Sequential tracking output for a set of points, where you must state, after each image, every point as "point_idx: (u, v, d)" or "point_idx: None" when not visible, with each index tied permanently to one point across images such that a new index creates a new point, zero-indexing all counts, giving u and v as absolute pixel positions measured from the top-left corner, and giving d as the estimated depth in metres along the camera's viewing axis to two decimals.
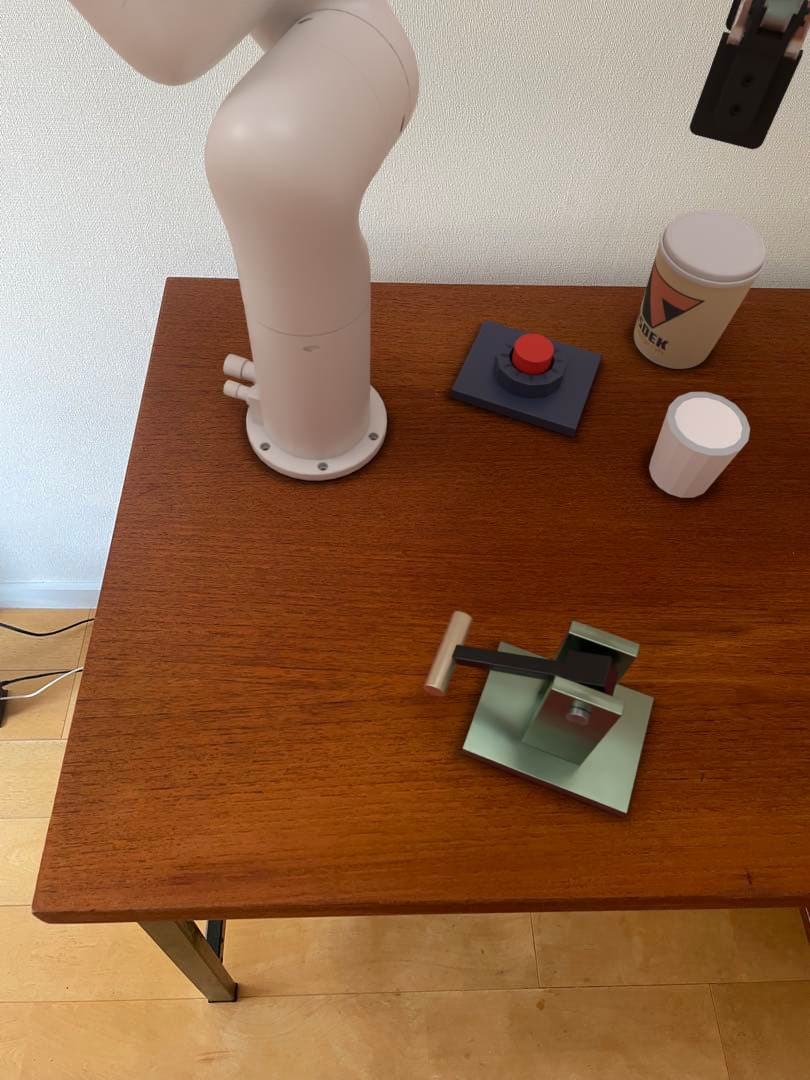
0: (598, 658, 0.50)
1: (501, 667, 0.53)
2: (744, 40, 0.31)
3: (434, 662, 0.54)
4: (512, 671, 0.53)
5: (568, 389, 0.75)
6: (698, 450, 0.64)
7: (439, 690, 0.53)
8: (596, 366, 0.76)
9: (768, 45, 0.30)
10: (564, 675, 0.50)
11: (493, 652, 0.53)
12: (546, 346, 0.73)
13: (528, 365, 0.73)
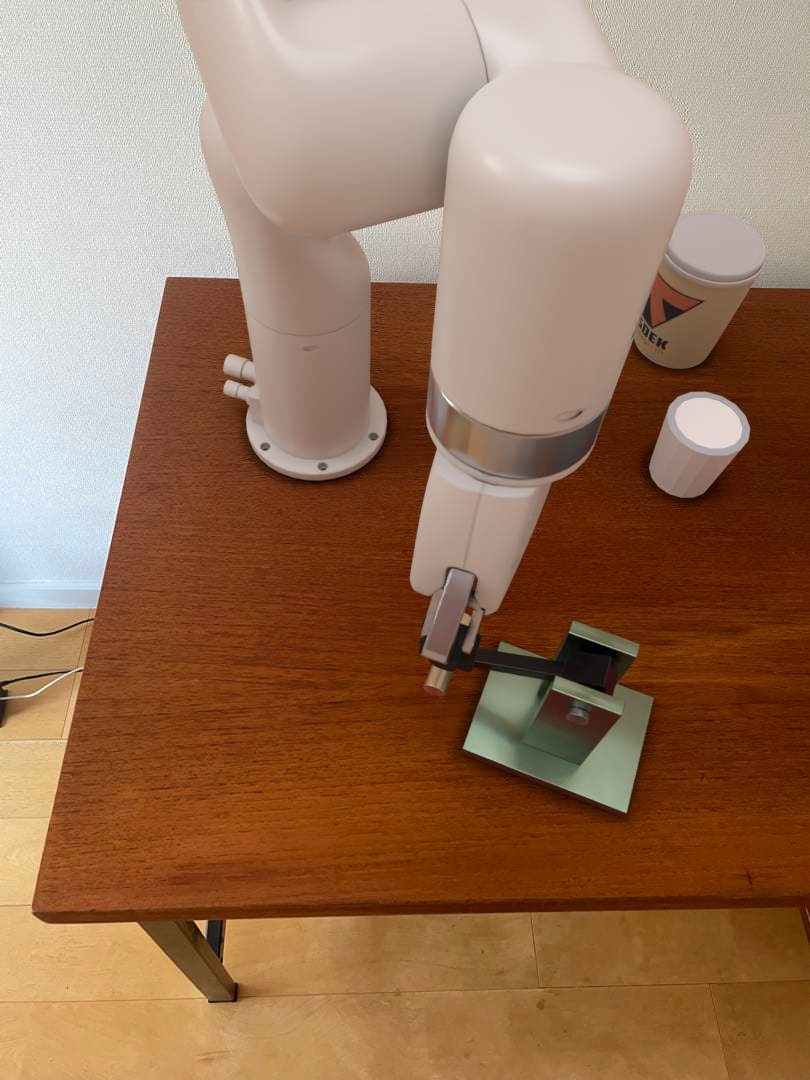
0: (598, 658, 0.50)
1: (501, 667, 0.53)
2: None
3: None
4: (512, 671, 0.53)
5: None
6: (698, 450, 0.64)
7: (439, 690, 0.53)
8: None
9: None
10: (564, 675, 0.50)
11: (493, 652, 0.53)
12: None
13: None
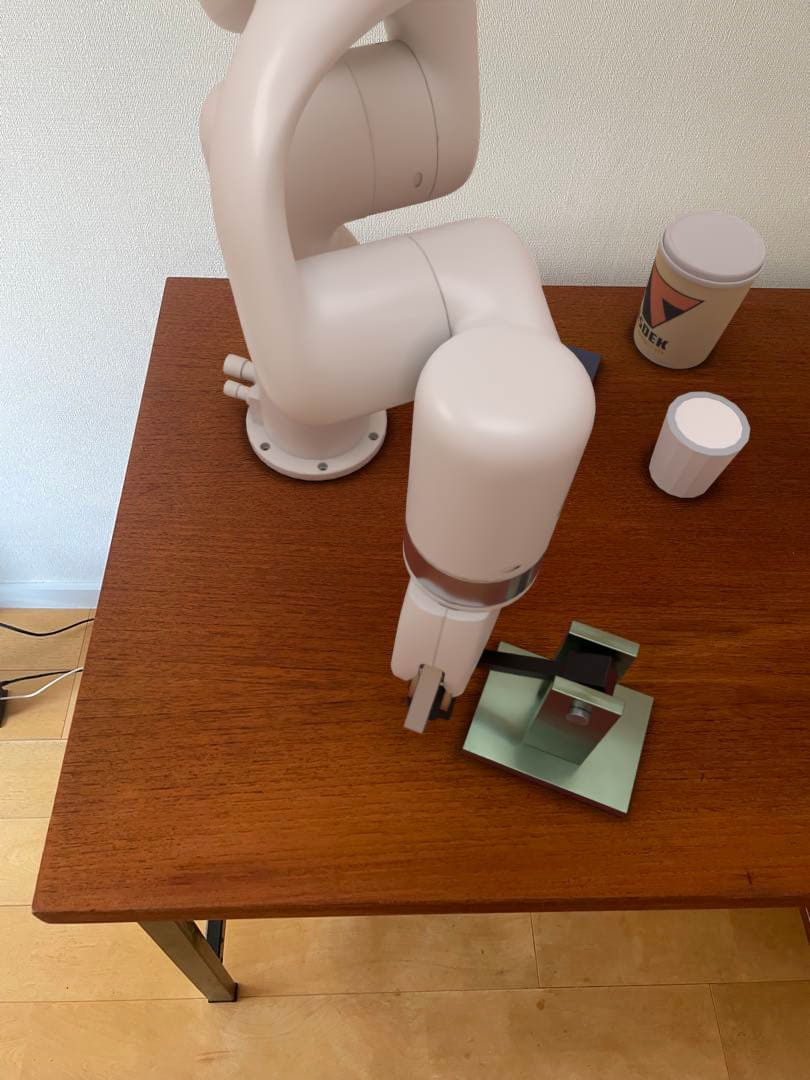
0: (598, 658, 0.50)
1: (501, 667, 0.53)
2: None
3: None
4: (512, 671, 0.53)
5: None
6: (698, 450, 0.64)
7: None
8: (596, 366, 0.76)
9: None
10: (564, 675, 0.50)
11: (493, 652, 0.53)
12: None
13: None
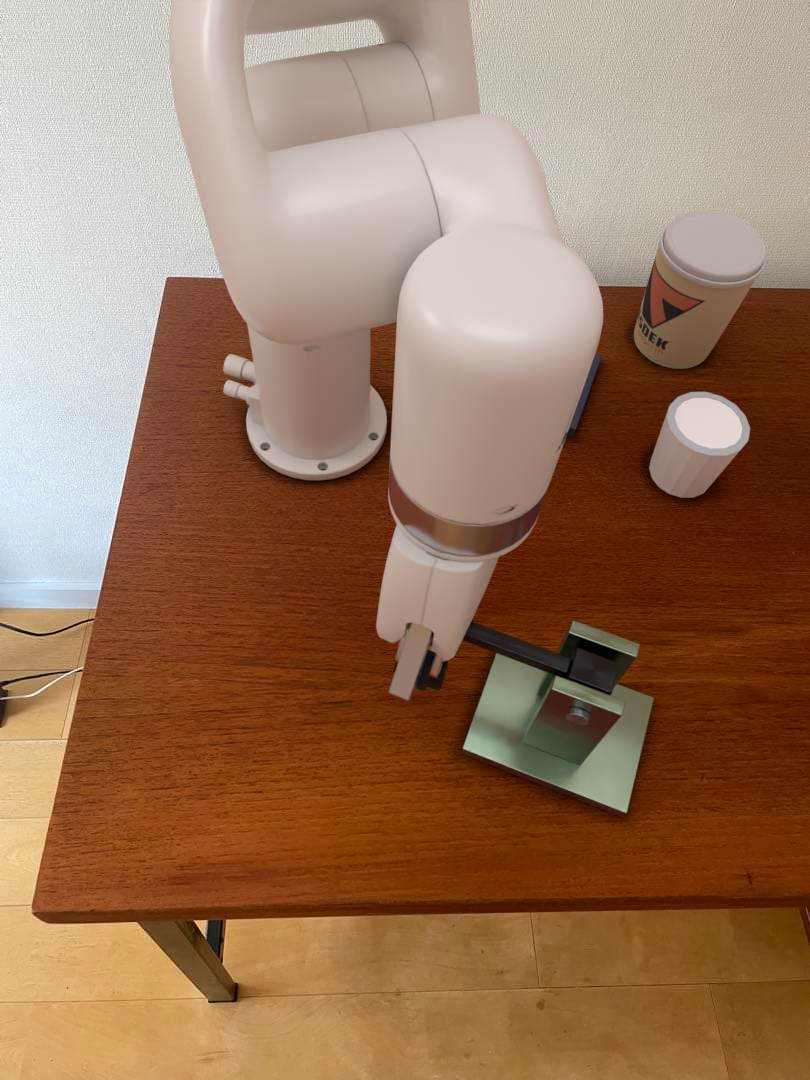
0: (606, 662, 0.50)
1: (501, 649, 0.51)
2: None
3: None
4: (510, 655, 0.51)
5: None
6: (698, 450, 0.64)
7: None
8: (596, 366, 0.76)
9: None
10: (573, 674, 0.49)
11: (493, 632, 0.51)
12: None
13: None
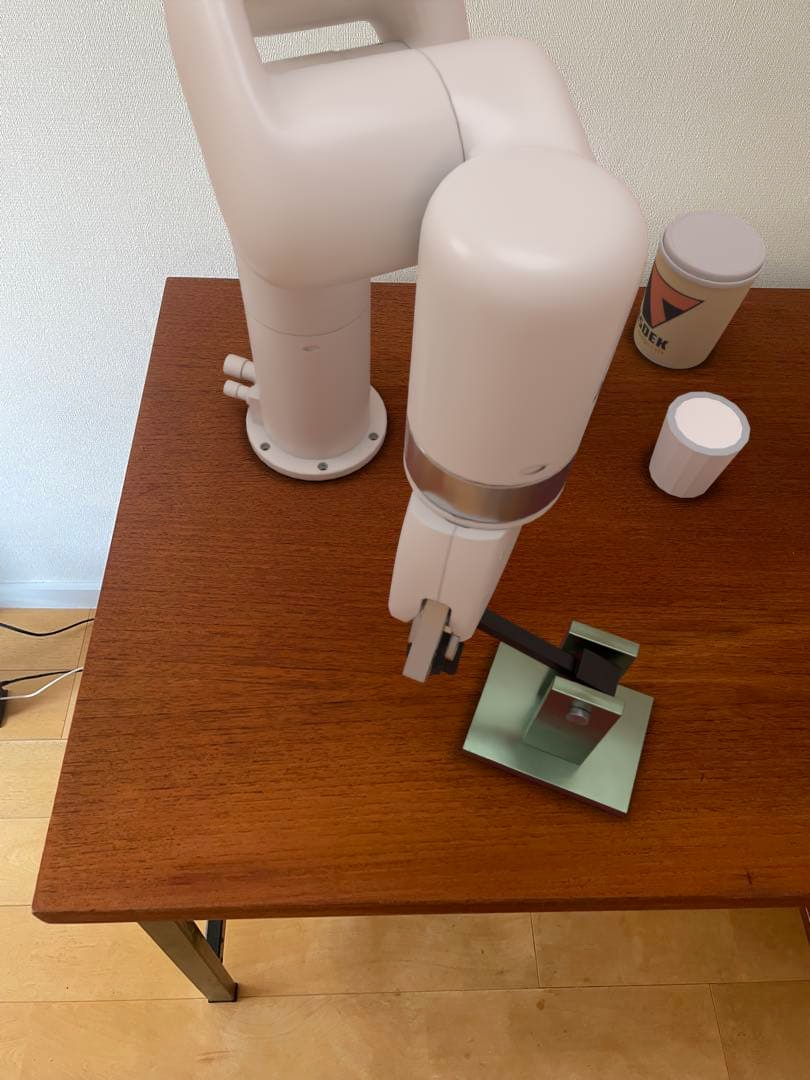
0: (610, 666, 0.50)
1: (511, 640, 0.49)
2: None
3: None
4: (517, 647, 0.50)
5: None
6: (698, 450, 0.64)
7: None
8: None
9: None
10: (580, 674, 0.49)
11: (505, 621, 0.49)
12: None
13: None
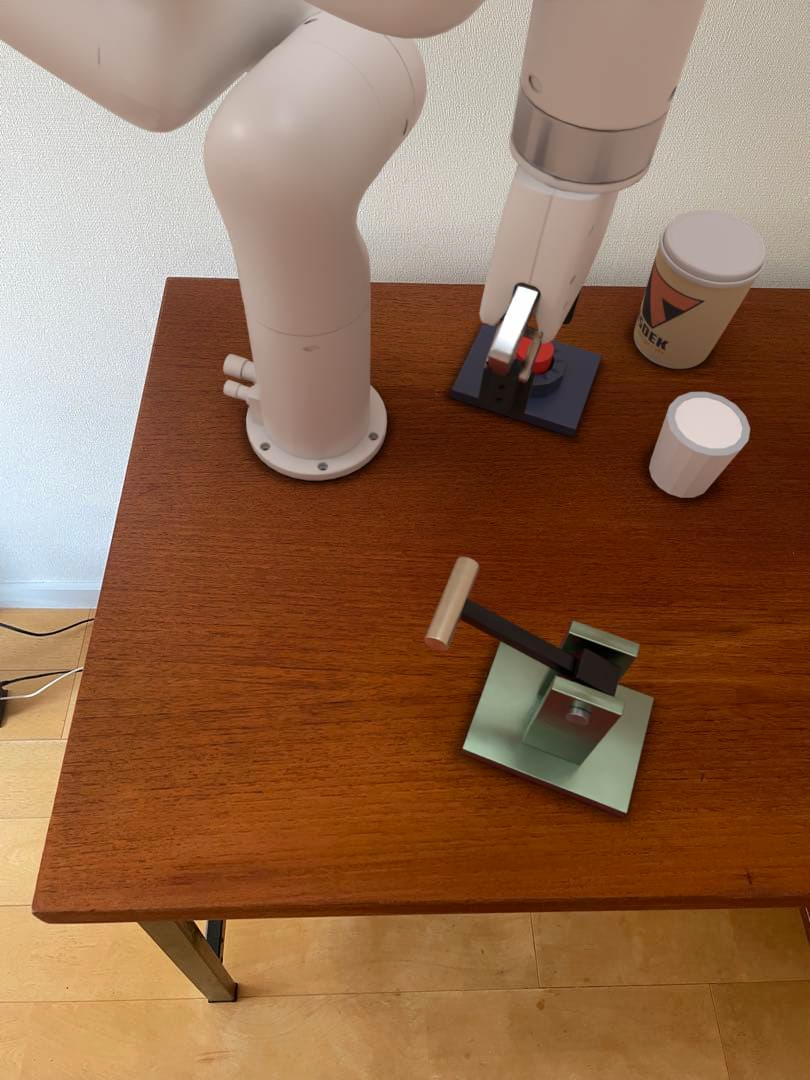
0: (610, 666, 0.50)
1: (511, 640, 0.49)
2: None
3: (444, 612, 0.48)
4: (517, 647, 0.50)
5: (568, 389, 0.75)
6: (698, 450, 0.64)
7: (445, 647, 0.47)
8: (596, 366, 0.76)
9: None
10: (580, 674, 0.49)
11: (505, 621, 0.49)
12: (546, 346, 0.73)
13: None
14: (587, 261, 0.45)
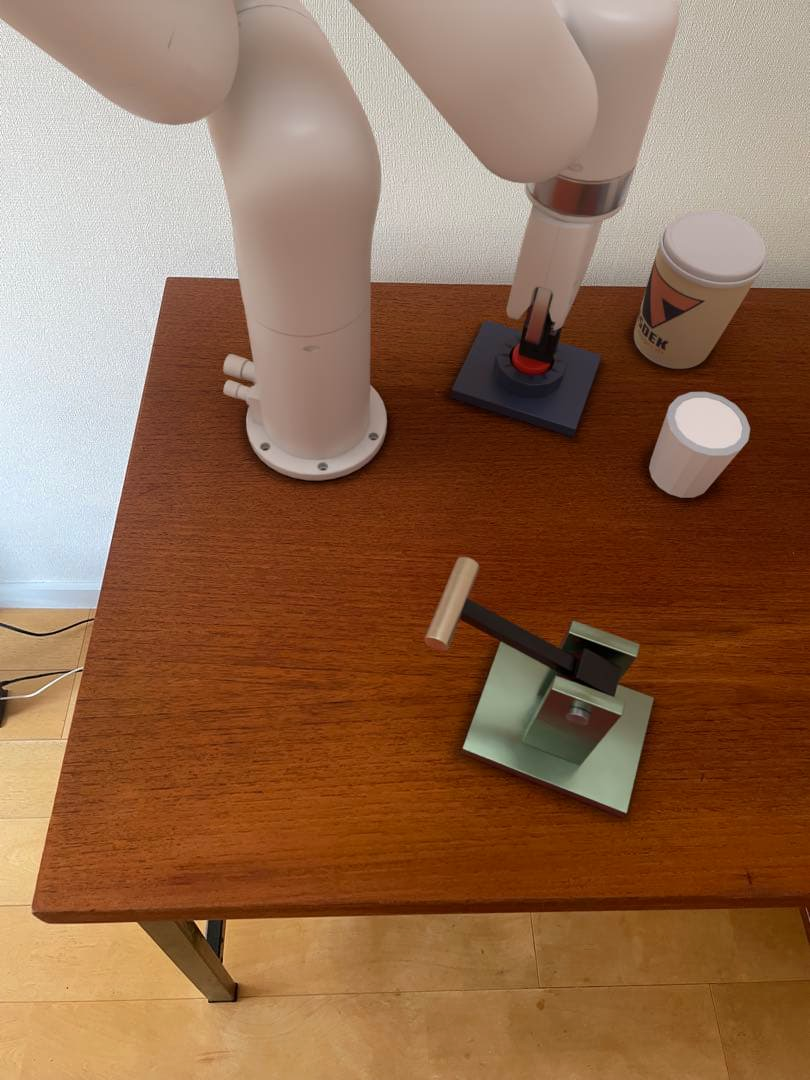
0: (610, 666, 0.50)
1: (511, 640, 0.49)
2: None
3: (444, 612, 0.48)
4: (517, 647, 0.50)
5: (568, 389, 0.75)
6: (698, 450, 0.64)
7: (445, 647, 0.47)
8: (596, 366, 0.76)
9: None
10: (580, 674, 0.49)
11: (505, 621, 0.49)
12: None
13: (526, 372, 0.73)
14: (584, 269, 0.62)
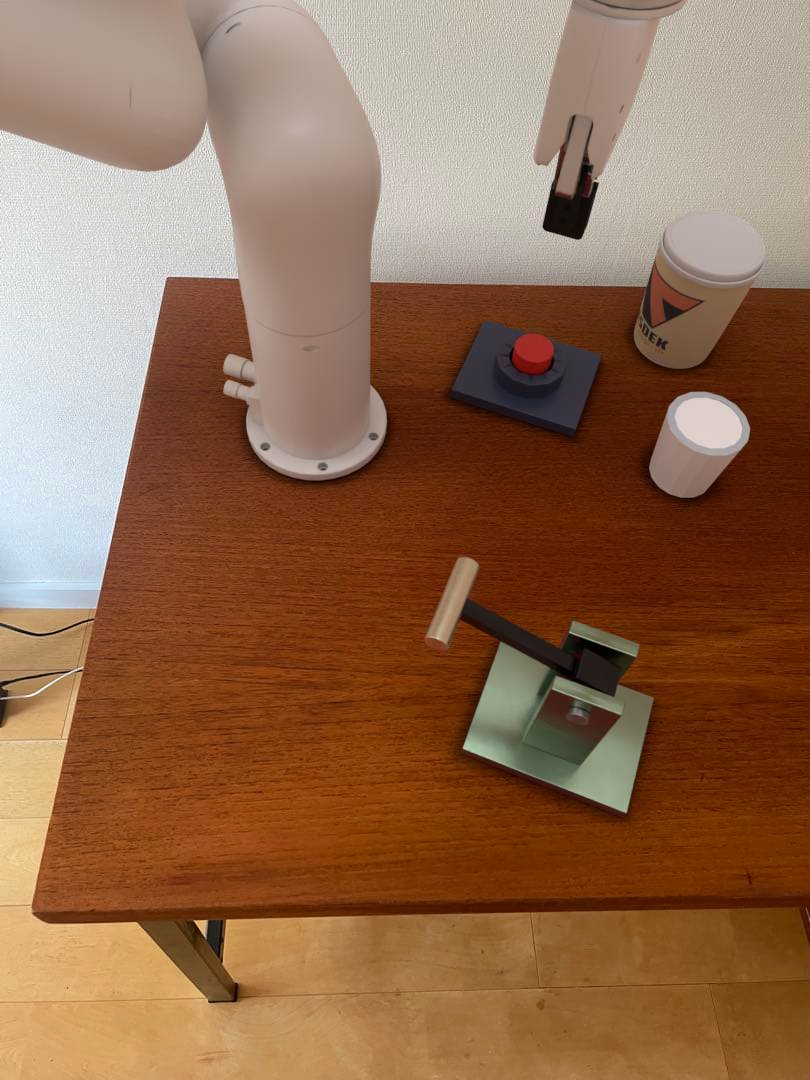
0: (610, 666, 0.50)
1: (511, 640, 0.49)
2: None
3: (444, 612, 0.48)
4: (517, 647, 0.50)
5: (568, 389, 0.75)
6: (698, 450, 0.64)
7: (445, 647, 0.47)
8: (596, 366, 0.76)
9: None
10: (580, 674, 0.49)
11: (505, 621, 0.49)
12: (546, 346, 0.73)
13: (528, 365, 0.73)
14: (632, 94, 0.50)
